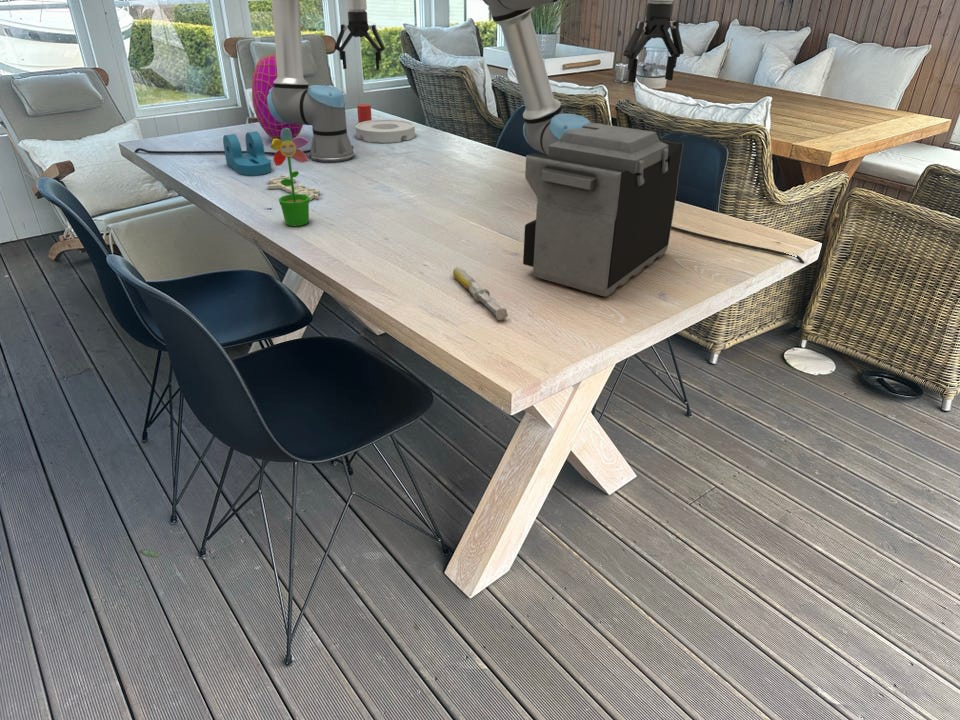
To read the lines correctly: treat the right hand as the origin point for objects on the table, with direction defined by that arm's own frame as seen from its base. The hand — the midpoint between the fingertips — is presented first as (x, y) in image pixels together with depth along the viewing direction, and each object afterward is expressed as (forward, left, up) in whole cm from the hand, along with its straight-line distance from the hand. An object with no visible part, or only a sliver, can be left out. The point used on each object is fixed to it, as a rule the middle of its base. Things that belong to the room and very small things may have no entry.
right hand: (650, 80), depth 210 cm
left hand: (+124, -27, -8) cm, 127 cm away
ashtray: (+105, -13, -30) cm, 109 cm away
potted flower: (+71, +85, -30) cm, 115 cm away
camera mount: (+119, +49, -30) cm, 132 cm away
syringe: (+8, +106, -30) cm, 110 cm away
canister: (+124, -27, -30) cm, 130 cm away
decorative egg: (+135, +12, -30) cm, 139 cm away
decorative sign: (+92, +62, -30) cm, 115 cm away
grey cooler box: (-9, +77, -30) cm, 83 cm away
